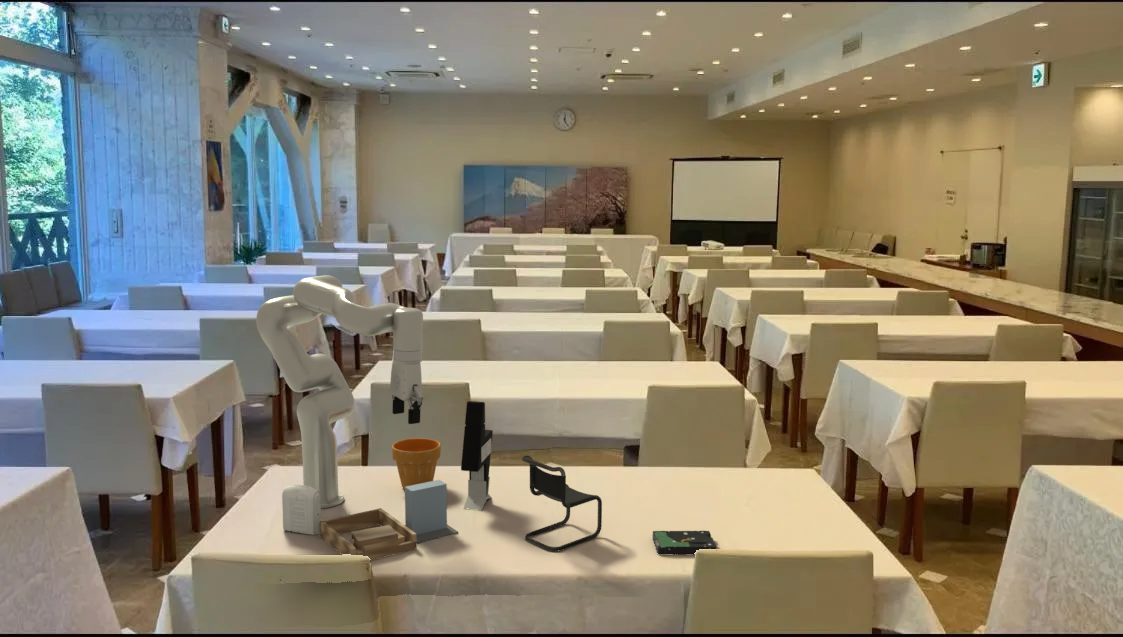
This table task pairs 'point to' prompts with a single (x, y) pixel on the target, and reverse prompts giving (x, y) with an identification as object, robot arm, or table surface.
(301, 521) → the white rounded tombstone
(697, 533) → the disk drive
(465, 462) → the award
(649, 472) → the table surface
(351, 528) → the wooden frame
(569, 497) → the chair
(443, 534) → the mat
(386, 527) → the offcut stack
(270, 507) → the table surface
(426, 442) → the flower pot
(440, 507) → the rectangular block
